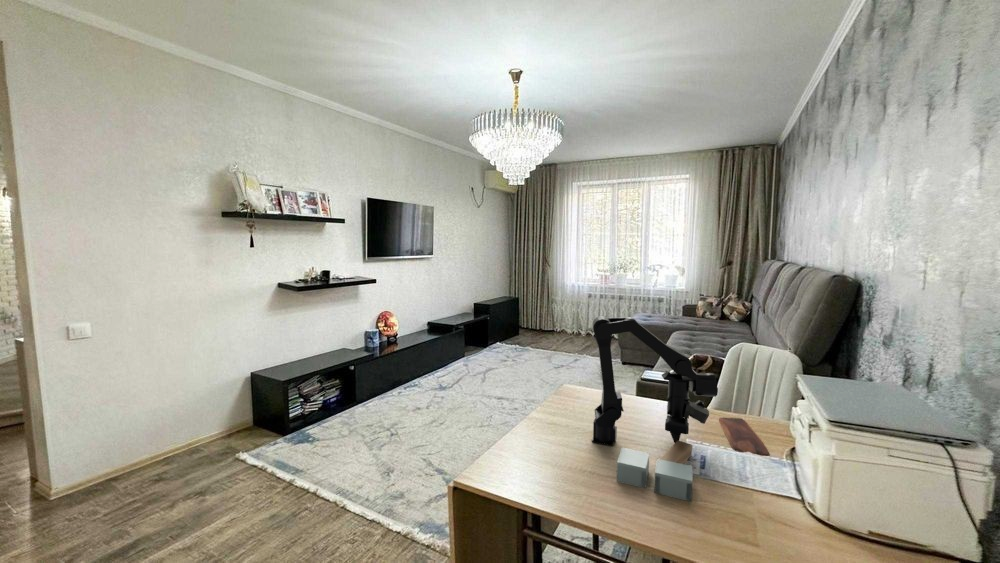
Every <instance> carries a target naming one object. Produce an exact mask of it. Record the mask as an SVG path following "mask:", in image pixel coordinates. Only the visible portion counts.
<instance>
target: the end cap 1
mask: <svg viewBox="0 0 1000 563" xmlns="http://www.w3.org/2000/svg"><path fill="white" fill-rule="evenodd" d="M649 469H650V453H649V452H645V451H641V450H637V449H631V448H626V447H621V449H620V452H619V456H618V458H617V461H616V482H617V483H623V484H627V485H630V486H634V487H639V488H642V489H646V487H647V483H648V476H649V472H650V470H649Z"/></svg>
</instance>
